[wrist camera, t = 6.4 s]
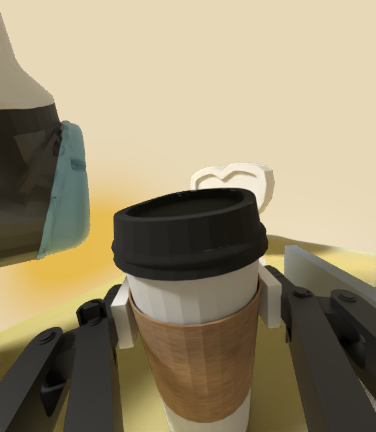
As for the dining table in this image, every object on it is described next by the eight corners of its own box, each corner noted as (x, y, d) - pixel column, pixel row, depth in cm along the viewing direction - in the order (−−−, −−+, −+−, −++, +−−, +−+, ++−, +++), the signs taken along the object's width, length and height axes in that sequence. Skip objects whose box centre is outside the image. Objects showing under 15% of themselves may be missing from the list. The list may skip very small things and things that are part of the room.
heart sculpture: (194, 252, 40) (186, 170, 36) (208, 245, 43) (202, 169, 39) (265, 272, 29) (264, 158, 25) (275, 260, 32) (276, 158, 29)
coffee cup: (276, 371, 14) (276, 183, 11) (256, 569, 7) (242, 212, 4) (187, 333, 19) (169, 190, 16) (121, 433, 12) (65, 210, 8)
